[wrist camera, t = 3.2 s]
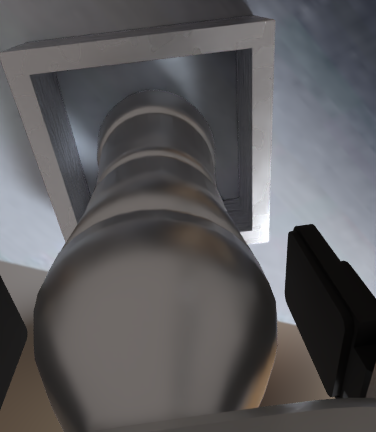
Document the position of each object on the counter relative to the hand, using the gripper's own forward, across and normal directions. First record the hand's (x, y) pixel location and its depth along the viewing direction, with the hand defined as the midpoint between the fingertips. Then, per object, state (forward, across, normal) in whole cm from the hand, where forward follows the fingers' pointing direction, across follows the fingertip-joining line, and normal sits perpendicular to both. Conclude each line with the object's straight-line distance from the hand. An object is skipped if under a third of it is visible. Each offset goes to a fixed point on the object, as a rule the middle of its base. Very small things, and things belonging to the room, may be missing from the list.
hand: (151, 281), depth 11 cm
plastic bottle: (+13, 0, -1) cm, 13 cm away
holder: (+12, 0, -1) cm, 12 cm away
